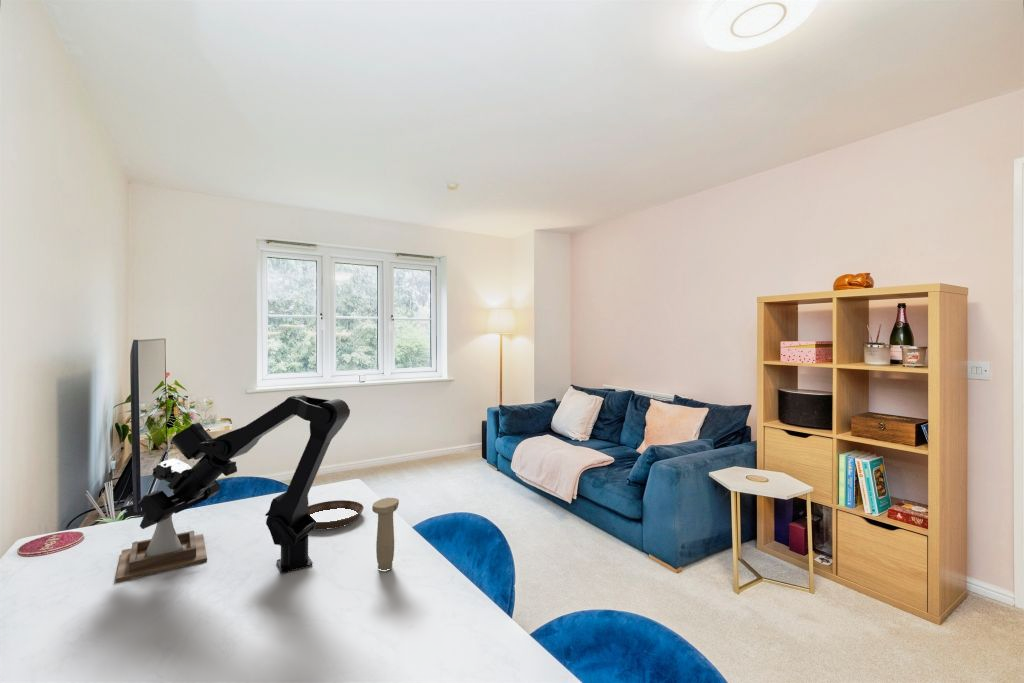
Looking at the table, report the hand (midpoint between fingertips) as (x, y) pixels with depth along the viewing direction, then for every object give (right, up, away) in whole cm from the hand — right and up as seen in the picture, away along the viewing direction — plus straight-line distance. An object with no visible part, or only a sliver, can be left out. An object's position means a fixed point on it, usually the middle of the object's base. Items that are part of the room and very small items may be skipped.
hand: (158, 519), depth 108 cm
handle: (+54, -10, -4) cm, 55 cm away
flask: (+1, -8, 0) cm, 8 cm away
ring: (+31, -10, +23) cm, 40 cm away
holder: (+1, -9, 0) cm, 9 cm away
